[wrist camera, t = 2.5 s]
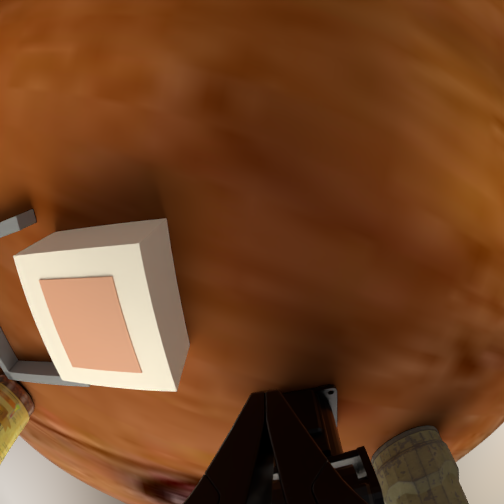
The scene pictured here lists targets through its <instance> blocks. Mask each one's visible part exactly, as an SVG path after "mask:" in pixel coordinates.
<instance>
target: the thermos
mask: <svg viewBox="0 0 504 504" xmlns="http://www.w3.org/2000/svg"><path fill="white" fill-rule="evenodd" d="M371 462H372V465H373V467H374V470H375V473H376V476H377V478H378V481H379V484H380V487H381V490H382V494H383V498H384V503H385V504H469V503H468V501H467V499H466V496H465V494H464V492H463V490H462V487H461V485H460V483H459V470H458V467H457V465H456V462H455V460H454V458H453V456H452V454H451V452H450V450H449V448H448V446H447V445H446V443H444V442H443V441H442V439H441V437H440V436H439V432H438V430H437V429H436V428H435V427H434V426H428V425H426V426H421V427H416V428H413V429H411V430H408V431H405V432H403V433H401V434H399V435H397V436H395V437H394V438H392V439H391V440H389V441H388V442H386V443H385V444H384V445H382V446H381V447H380V448H379V449H378V450H377V451H376V452H375V453H374V455H373V456H372V460H371Z"/></svg>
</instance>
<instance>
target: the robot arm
mask: <svg viewBox="0 0 504 504" xmlns="http://www.w3.org/2000/svg"><path fill="white" fill-rule="evenodd" d="M330 390H332V391H330ZM183 504H385V503H384V498H383V494H382V490H381V487H380V484H379V481H378V478H377V476H376V474H375V471H374V469H373V466H372V464H371V461H370V459H369V457H368V454H367V452H366V449H365V447H364V446H362V447H358V448H357V449H356V450H352V451H348V452H345V453H343V450H342V446H341V442H340V438H339V434H338V430H337V389H336V386H335V385H327V386H322V387H317V388H312V389H306V390H301V391H295V392H289V393H283V394H281V392H280V391H279V390H278V389H275V390H268V391H266V392H263V391H261V392H254V393H251V395H250V396H249V398H248V400H247V402H246V404H245V405H244V407H243V409H242V411H241V412H240V414H239V416H238V418H237V419H236V421H235V423H234V425H233V426H232V428H231V430H230V432H229V433H228V435H227V437H226V438H225V440H224V442H223V444H222V445H221V447H220V449H219V450H218V452H217V454H216V455H215V457H214V459H213V460H212V462H211V463H210V465H209V467H208V468H207V470H206V472H205V474H204V475H203V476H202V478H201V479H200V481H199V482H198V484H197V485H196V487H195V488H194V490H193V491H192V493H191V494H190V496H189V497H188V498H187V499H186V500H185V502H184V503H183Z"/></svg>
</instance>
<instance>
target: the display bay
mask: <svg viewBox="0 0 504 504" xmlns="http://www.w3.org/2000/svg"><path fill="white" fill-rule="evenodd" d="M34 223H36V218H35V215H34V211H33V209H32V210H29V211H27V212H24V213H22V214H19V215H17V216H14V217H12V218H10V219H7V220H5V221H3V222H0V238H1V237H3V236H6V235H8V234H11V233H14V232H16V231H19V230H21V229H23V228H26V227H28V226H30V225H32V224H34ZM0 367H1V368H2V370H3V372H4V373H5V375H6V376H7V378H8V379H10V380H17V381H25V382H33V383H43V384H54V385H67V386H84V387H90V384H83V383H76V382H69V381H63V380H62V379H61V377H60V375H59V373H58V371H57V369H56V367H55V365H54V363H53V362H35V361H18V359H17V357H16V356H15V354H14V352H13V350H12V349H11V347H10V345H9V343H8V341H7V339H6V337H5V335H4V333H3V331H2V329H1V327H0Z"/></svg>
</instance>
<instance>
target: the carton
mask: <svg viewBox="0 0 504 504" xmlns="http://www.w3.org/2000/svg"><path fill="white" fill-rule="evenodd" d="M13 257H14V261H15V264H16V268H17V271H18V274H19V277H20V281H21V284H22V287H23V290H24V293H25V296H26V299H27V301H28V304H29V307H30V310H31V312H32V315H33V317H34V320H35V322H36V325H37V327H38V330H39V332H40V335H41V337H42V339H43V341H44V344H45V346H46V348H47V350H48V353H49V355H50V357H51V359H52V361H53V363H54V365H55V367H56V369H57V371H58V373H59V375H60V377H61V379H62V380H63V381H69V382H76V383H83V384H90V385H98V386H106V387H116V388H126V389H138V390H154V391H177V389H178V385H179V382H180V378H181V374H182V371H183V367H184V363H185V360H186V356H187V353H188V349H189V346H190V343H189V339H188V334H187V330H186V325H185V320H184V315H183V311H182V306H181V301H180V295H179V290H178V285H177V279H176V274H175V268H174V263H173V257H172V251H171V245H170V238H169V232H168V225H167V218H164V219H155V220H145V221H136V222H128V223H119V224H111V225H103V226H95V227H87V228H80V229H72V230H65V231H58V232H54V233H52V234H50V235H49V236H47V237H45V238H43V239H41V240H40V241H38V242H36V243H34V244H33V245H31V246H29V247H27V248H26V249H24V250H22V251H21V252H19V253H17V254H16V255H14V256H13Z"/></svg>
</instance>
